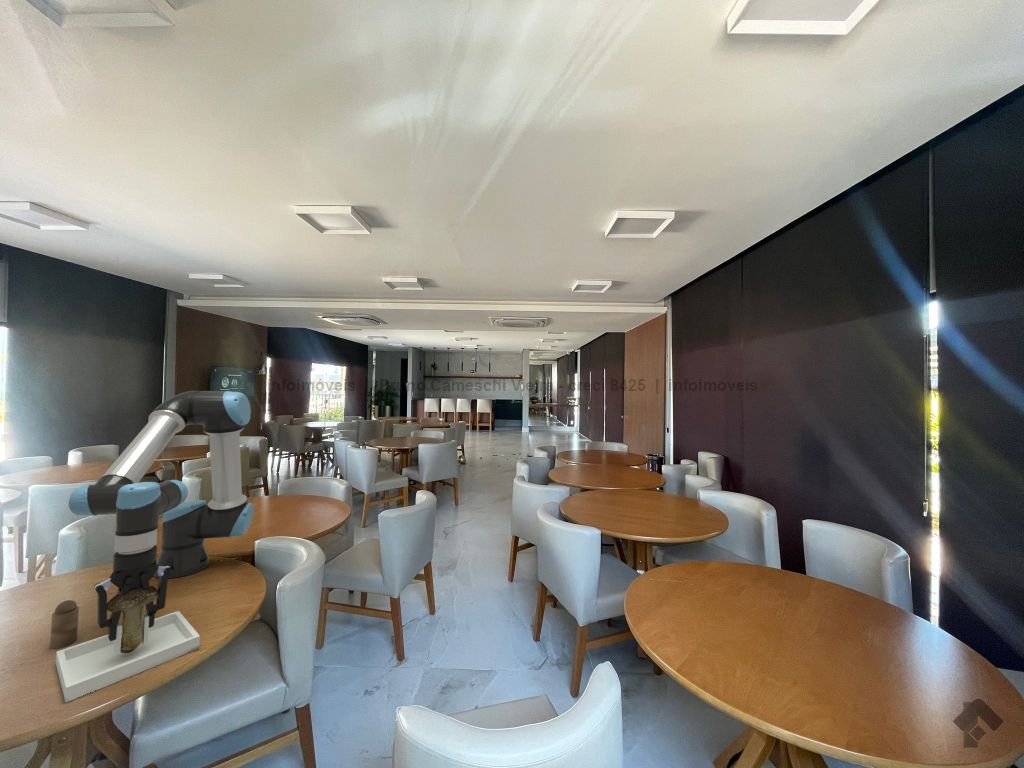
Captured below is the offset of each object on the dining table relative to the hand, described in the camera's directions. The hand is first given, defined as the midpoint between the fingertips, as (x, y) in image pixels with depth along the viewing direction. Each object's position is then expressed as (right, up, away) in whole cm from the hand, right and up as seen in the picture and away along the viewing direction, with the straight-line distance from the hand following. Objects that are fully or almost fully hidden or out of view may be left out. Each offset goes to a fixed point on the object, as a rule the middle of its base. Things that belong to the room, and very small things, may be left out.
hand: (130, 646), depth 93 cm
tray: (0, -2, 0) cm, 2 cm away
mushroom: (0, -1, 0) cm, 1 cm away
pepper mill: (-21, -2, +4) cm, 21 cm away
